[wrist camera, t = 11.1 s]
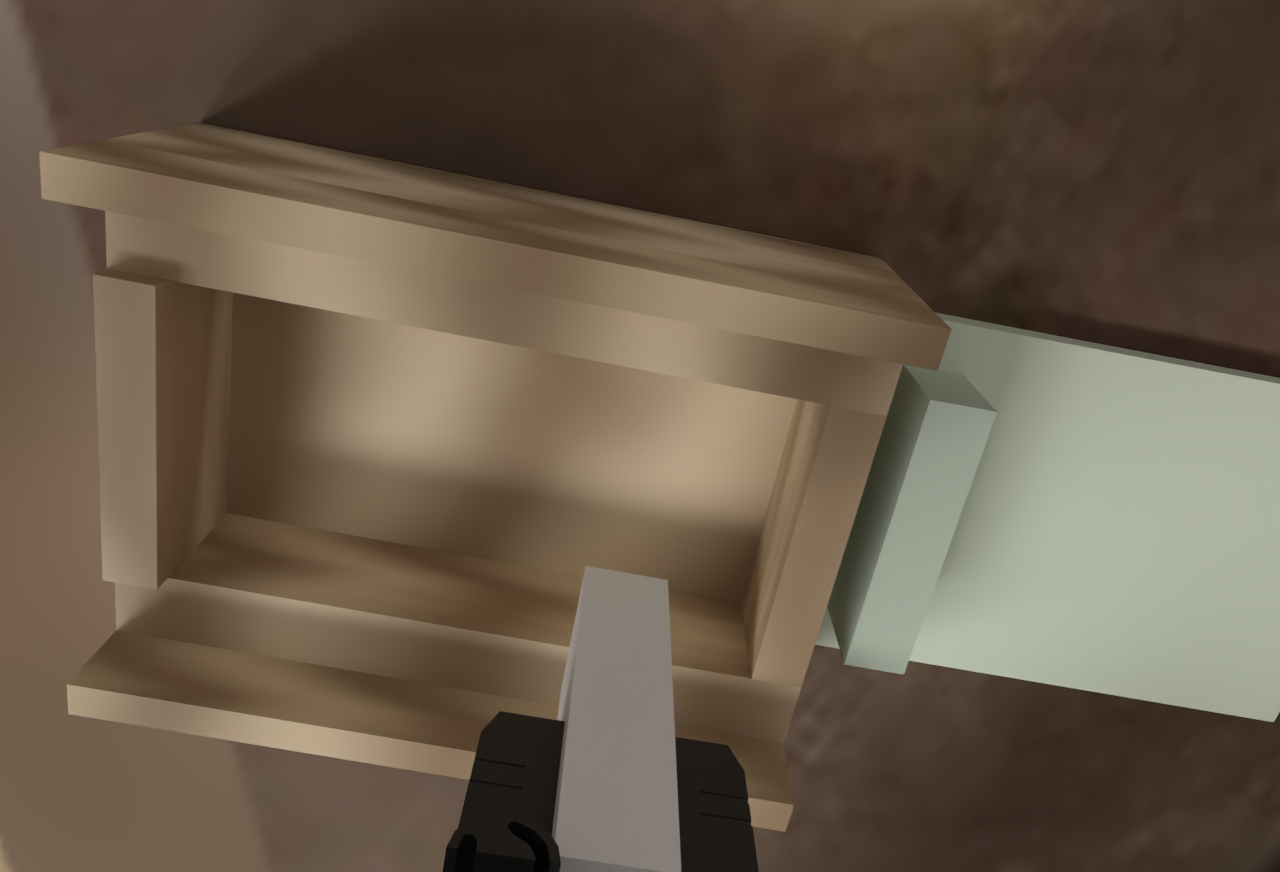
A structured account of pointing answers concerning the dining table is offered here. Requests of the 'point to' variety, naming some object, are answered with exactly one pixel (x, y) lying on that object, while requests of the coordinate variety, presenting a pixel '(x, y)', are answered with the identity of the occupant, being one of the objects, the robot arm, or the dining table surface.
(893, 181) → the dining table surface
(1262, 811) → the dining table surface
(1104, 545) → the lid
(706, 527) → the box
